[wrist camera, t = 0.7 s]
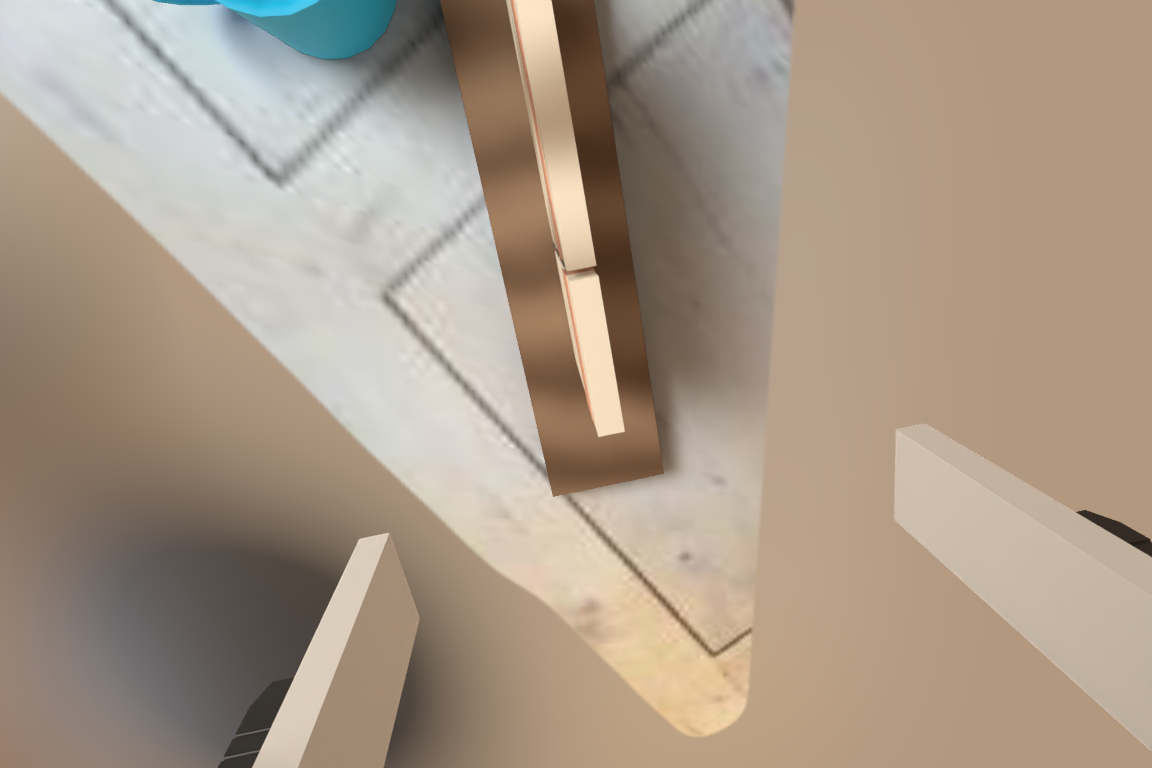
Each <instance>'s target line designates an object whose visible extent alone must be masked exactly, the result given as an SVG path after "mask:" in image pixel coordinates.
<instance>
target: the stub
mask: <svg viewBox="0 0 1152 768" xmlns="http://www.w3.org/2000/svg"><path fill="white" fill-rule="evenodd" d="M555 256H556V261H557V266H558V271H559V276H560V282H561V287H562V292H563V297H564V302H565V307H566V313H567V318H568V323H569V328H570V333H571V338H572V344H573V349H574V354H575V359H576V363H577V366H578V369H579V373H580V376H581V380H582V383H583V386H584V390H585V393H586V398H587V403H588V407H589V410H590V414H591V417H592V421H594V424H595V427H596V430H597V434H598V437H601V436H606V435H611V434H616V433H621V432H625V429H624V424H623V418H622V412H621V406H620V400H619V394H618V388H617V382H616V376H615V371H614V365H613V359H612V353H611V347H610V341H609V335H608V329H607V323H606V318H605V312H604V306H603V300H602V294H601V288H600V282H599V276H598V275H597V274H596V272H595V270H594V269H593V267H587V268H582V269H577V270H572V271H567V270H566V268H565V267H563V265H562V263H561V261H560V257H558V255H557V252H556V251H555Z"/></svg>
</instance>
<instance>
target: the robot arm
mask: <svg viewBox="0 0 1152 768" xmlns="http://www.w3.org/2000/svg"><path fill="white" fill-rule="evenodd" d="M895 449H896V450H895V452H896V453H895V496H894V520H895V521H896V522H898V524H900V525H901V526H902V527H903V528H904V529H905V530H906V531H907V532H908V533H910V534H911V535H912V536H913V537H914V538H915V539H916V540H917V541H918V542H920V543H921V544H922V545H923V546H924V547H925V548H926V549H927V550H928V551H930V552H931V553H932V554H933V555H934V556H935V557H936V558H937V559H938V560H939V561H941V562H942V563H943V564H944V565H945V566H946V567H947V568H948V569H949V570H951V571H952V572H953V573H954V574H955V575H956V576H957V577H958V578H959V579H961V580H962V581H963V582H964V583H965V584H966V585H967V586H969V588H971V589H972V590H973V591H974V592H975V593H976V594H977V595H978V596H979V597H981V598H982V599H983V600H984V601H985V602H986V603H987V604H989V606H990V607H992V608H993V609H994V610H995V611H996V612H997V613H998V614H999V615H1000V616H1002V617H1003V618H1004V619H1005V620H1006V621H1007V622H1008V623H1009V624H1010V625H1012V626H1013V627H1014V628H1015V629H1016V630H1017V631H1018V632H1019V633H1020V634H1022V635H1023V636H1024V637H1025V638H1026V639H1027V640H1028V641H1029V642H1031V643H1032V644H1033V645H1034V646H1035V647H1036V648H1037V649H1038V650H1039V651H1040V652H1042V653H1043V654H1044V655H1045V656H1046V657H1047V658H1048V659H1049V660H1050V661H1052V662H1053V663H1054V664H1055V665H1056V666H1057V667H1058V668H1059V669H1061V671H1063V672H1064V673H1065V674H1066V675H1067V676H1068V677H1069V678H1070V679H1071V680H1073V681H1074V682H1075V683H1076V684H1077V685H1078V686H1079V687H1080V688H1081V689H1083V690H1084V691H1085V692H1086V693H1087V694H1088V695H1089V696H1090V697H1091V698H1093V699H1094V700H1095V701H1096V702H1097V703H1098V704H1099V705H1100V706H1101V707H1102V708H1104V709H1105V710H1106V711H1107V712H1108V713H1109V714H1110V715H1111V716H1112V717H1114V718H1115V719H1116V720H1117V721H1118V722H1119V723H1120V724H1121V725H1122V726H1124V727H1125V728H1126V729H1127V730H1128V731H1129V732H1130V733H1131V734H1132V735H1134V736H1135V737H1136V738H1137V739H1138V740H1139V741H1140V742H1141V743H1142V744H1144V745H1145V746H1146V747H1147V748H1148V749H1149V750H1150V751H1152V543H1151V541H1150V539H1149V538H1147V537H1145V536H1144V535H1142V534H1140V533H1138V532H1136V531H1135V530H1133V529H1131V528H1129V527H1128V526H1126V525H1124V524H1122V523H1121V522H1118V521H1115V520H1112V519H1109V518H1106V517H1104V516H1101V515H1098V514H1095V513H1092V512H1089V511H1086V510H1083V511H1079V512H1074V511H1073V510H1071V509H1069V508H1067V507H1066V506H1064V505H1062V504H1061V503H1059V502H1057V501H1056V500H1054V499H1052V498H1051V497H1049V496H1047V495H1045V494H1044V493H1042V492H1040V491H1039V490H1037V489H1035V488H1034V487H1032V486H1030V485H1028V484H1027V483H1025V482H1023V481H1022V480H1020V479H1018V478H1017V477H1015V476H1013V475H1012V474H1010V473H1008V472H1006V471H1005V470H1003V469H1001V468H1000V467H998V466H996V465H995V464H993V463H991V462H990V461H988V460H986V459H985V458H983V457H981V456H979V455H978V454H976V453H974V452H973V451H971V450H969V449H968V448H966V447H964V446H963V445H961V444H959V443H958V442H956V441H954V440H953V439H951V438H949V437H947V436H946V435H944V434H942V433H941V432H939V431H937V430H936V429H934V428H932V427H931V426H929V425H927V424H925V423H923V424H918V425H913V426H909V427H904V428H899V429H896V448H895ZM418 623H419V615H418V612H417V609H416V606H415V604H414V601H413V598H412V595H411V592H410V589H409V586H408V584H407V581H406V578H405V575H404V572H403V569H402V567H401V564H400V561H399V558H398V556H397V552H396V550H395V547H394V544H393V541H392V538H391V535H390V533H386V534H381V535H376V536H371V537H366V538H362V539H359V541H358V543H357V545H356V548H355V549H354V552H353V554H352V556H351V558H350V560H349V562H348V565H347V566H346V569H345V571H344V573H343V575H342V577H341V579H340V581H339V584H338V586H337V588H336V590H335V592H334V594H333V596H332V598H331V601H330V603H329V605H328V607H327V609H326V611H325V614H324V616H323V618H322V620H321V622H320V624H319V626H318V628H317V631H316V633H315V635H314V637H313V639H312V641H311V644H310V645H309V647H308V650H307V652H306V654H305V656H304V658H303V660H302V662H301V665H300V667H299V669H298V671H297V673H296V675H295V677H294V678H289V679H284V680H280V681H274V682H272V683H271V684H270V685H269V686H268V687H267V688H266V689H265V691H264V692H263V693H262V694H261V695H260V696H259V697H258V699H257V700H256V701H255V702H254V703H253V704H252V705H251V706H250V708H249V710H248V711H247V713H246V715H245V717H244V719H243V721H242V723H241V725H240V727H239V728H238V730H237V732H236V738H235V739H233V740H232V742H231V744H230V746H229V747H228V749H227V751H226V753H225V755H224V761H222V762H221V763H220V765H219V766H218V768H383V767H384V763H385V759H386V755H387V750H388V746H389V741H390V738H391V734H392V730H393V726H394V721H395V717H396V713H397V709H398V705H399V701H400V697H401V693H402V688H403V685H404V681H405V676H406V672H407V668H408V664H409V660H410V656H411V652H412V647H413V644H414V639H415V635H416V631H417V627H418Z"/></svg>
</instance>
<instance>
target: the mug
mask: <svg viewBox="0 0 1152 768" xmlns="http://www.w3.org/2000/svg"><path fill="white" fill-rule="evenodd" d="M154 1H157V2H162V3H169V4H177V5H214V4H222V5H224V6H226V7H227V8H229V9H230V10H232V11H234V12H235V13H237V14H238V15H240V16H242V17H243V18H245V19H247V20H248V21H250V22H252V23H253V24H255V25H256V26H258V27H260V28H261V29H263V30H265V31H266V32H268V33H270V34H271V35H273V36H274V37H276V38H278V39H279V40H281V41H283V42H284V43H286V44H288V45H289V46H291V47H292V48H294V49H296V50H297V51H299V52H301V53H303V54H307V55H311V56H314V57H318V58H321V59H340V58H349V57H351V56H354V55H356V54H358V53H360V52H362V51H364V50H367V49H369V48H370V47H371V46H372V45H373V44H374V43H375V41H376V40H377V39H378V38H379V37H380V36H381V35H382V34H383V33H384V32H385V30H386V28H387V26H388V24H389V22H390V19H391V17H392V15H393V13H394V11H395V5H396V0H154Z"/></svg>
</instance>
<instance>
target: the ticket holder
mask: <svg viewBox="0 0 1152 768" xmlns="http://www.w3.org/2000/svg"><path fill="white" fill-rule="evenodd" d="M440 4H441V8H442V12H443V17H444V21H445V26H446V30H447V34H448V39H449V43H450V48H451V52H452V56H453V61H454V65H455V69H456V74H457V78H458V83H459V87H460V91H461V96H462V100H463V104H464V109H465V113H466V118H467V122H468V126H469V131H470V135H471V139H472V144H473V148H474V153H475V157H476V161H477V166H478V170H479V175H480V179H481V183H482V188H483V192H484V196H485V201H486V205H487V210H488V214H489V218H490V223H491V227H492V231H493V236H494V240H495V245H496V249H497V253H498V258H499V262H500V267H501V271H502V275H503V280H504V284H505V288H506V293H507V297H508V302H509V306H510V310H511V315H512V319H513V323H514V328H515V332H516V337H517V341H518V345H519V350H520V354H521V358H522V363H523V367H524V372H525V376H526V380H527V385H528V389H529V394H530V398H531V402H532V407H533V411H534V415H535V420H536V424H537V429H538V433H539V437H540V442H541V446H542V450H543V455H544V459H545V464H546V468H547V472H548V477H549V481H550V486H551V490H552V494H553V497H554V496H559V495H564V494H568V493H573V492H578V491H583V490H588V489H593V488H597V487H602V486H607V485H612V484H617V483H621V482H626V481H631V480H636V479H641V478H646V477H650V476H655V475H660V474H664V472H663V465H662V458H661V452H660V445H659V438H658V431H657V425H656V418H655V411H654V404H653V397H652V391H651V384H650V377H649V370H648V364H647V357H646V350H645V343H644V336H643V330H642V323H641V316H640V309H639V303H638V296H637V289H636V282H635V275H634V269H633V262H632V255H631V248H630V242H629V235H628V228H627V221H626V215H625V208H624V201H623V194H622V187H621V181H620V174H619V167H618V160H617V154H616V147H615V140H614V133H613V126H612V120H611V113H610V106H609V99H608V93H607V86H606V79H605V72H604V65H603V59H602V52H601V45H600V38H599V32H598V25H597V18H596V11H595V5H594V0H440ZM555 251H556V252H557V255H558V257H560V261H561V263H562V265H563V267H565V268H566V270H567V271H572V270H577V269H582V268H587V267H593V269H594V270H595V272H596V274H597V275H598V276H599V282H600V288H601V294H602V300H603V306H604V312H605V318H606V323H607V329H608V335H609V341H610V347H611V353H612V359H613V365H614V371H615V376H616V382H617V388H618V394H619V400H620V406H621V412H622V418H623V424H624V429H625V432H621V433H616V434H611V435H606V436H601V437H598V434H597V430H596V427H595V424H594V421H592V417H591V414H590V410H589V407H588V403H587V398H586V393H585V390H584V386H583V383H582V380H581V376H580V373H579V369H578V366H577V363H576V359H575V354H574V349H573V344H572V338H571V333H570V328H569V323H568V318H567V313H566V307H565V302H564V297H563V292H562V287H561V282H560V276H559V271H558V266H557V261H556V256H555Z"/></svg>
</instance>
